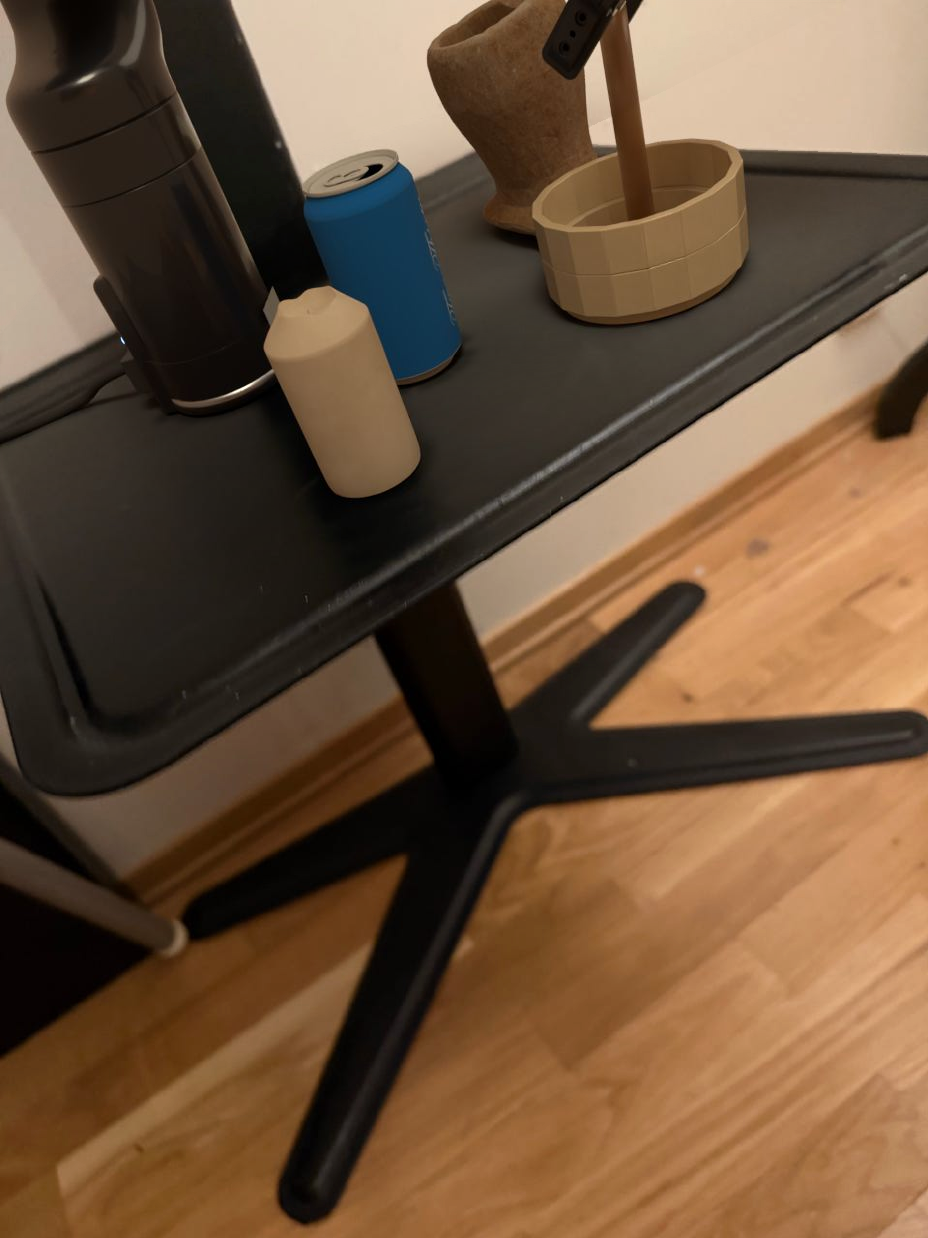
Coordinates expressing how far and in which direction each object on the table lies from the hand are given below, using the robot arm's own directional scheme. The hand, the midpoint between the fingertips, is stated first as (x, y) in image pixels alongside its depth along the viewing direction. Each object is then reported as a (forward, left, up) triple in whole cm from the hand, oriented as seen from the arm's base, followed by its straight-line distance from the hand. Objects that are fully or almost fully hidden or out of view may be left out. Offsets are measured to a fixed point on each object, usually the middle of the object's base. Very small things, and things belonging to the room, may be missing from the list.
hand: (584, 41), depth 49 cm
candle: (-15, -16, -14) cm, 26 cm away
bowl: (+1, -1, -14) cm, 14 cm away
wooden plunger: (+2, -1, -13) cm, 13 cm away
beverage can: (-14, -5, -14) cm, 20 cm away
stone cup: (-4, +11, -14) cm, 18 cm away
